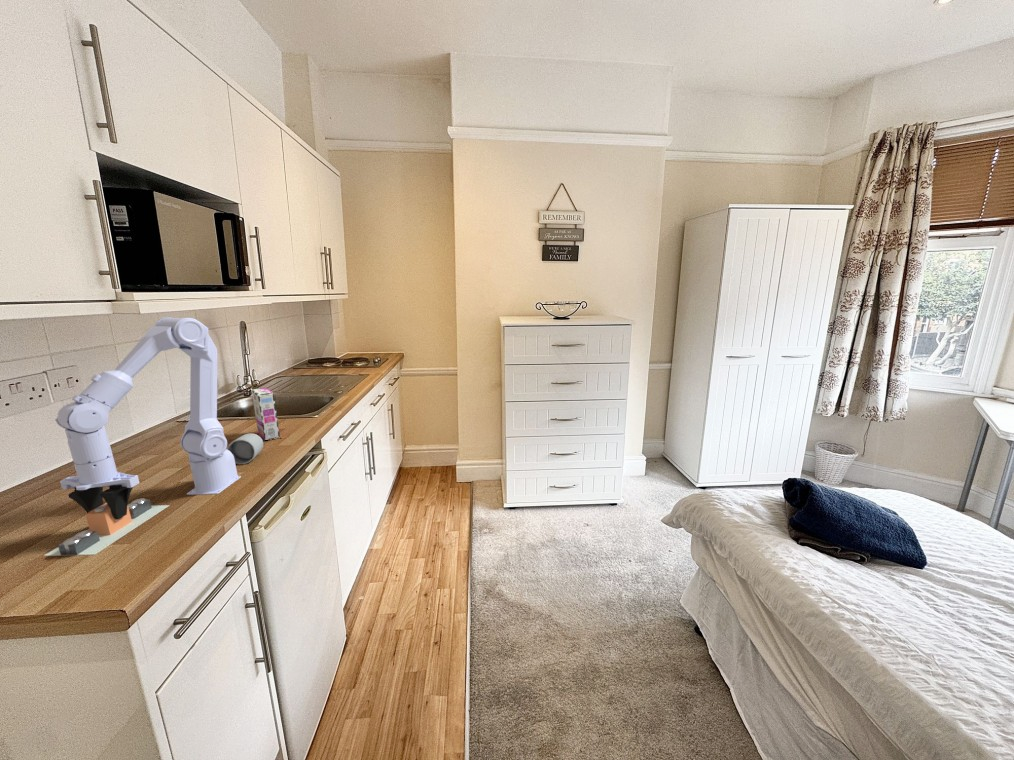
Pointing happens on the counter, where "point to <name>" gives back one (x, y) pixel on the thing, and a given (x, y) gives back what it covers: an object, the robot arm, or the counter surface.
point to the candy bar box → (265, 413)
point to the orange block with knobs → (106, 520)
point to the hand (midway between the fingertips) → (109, 517)
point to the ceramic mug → (246, 448)
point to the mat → (116, 533)
